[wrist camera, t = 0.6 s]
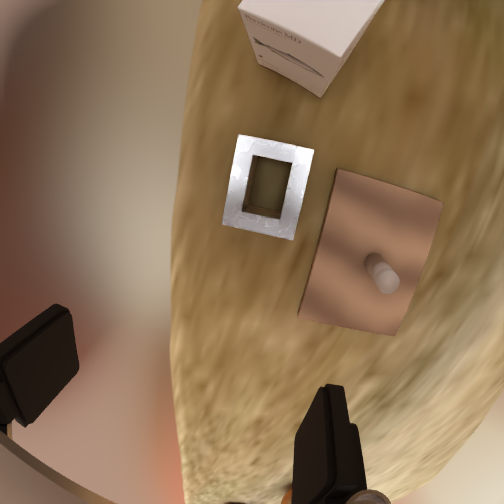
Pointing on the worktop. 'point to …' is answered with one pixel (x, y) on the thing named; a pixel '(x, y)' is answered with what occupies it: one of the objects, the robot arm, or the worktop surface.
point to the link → (241, 183)
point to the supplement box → (306, 36)
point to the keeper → (369, 254)
